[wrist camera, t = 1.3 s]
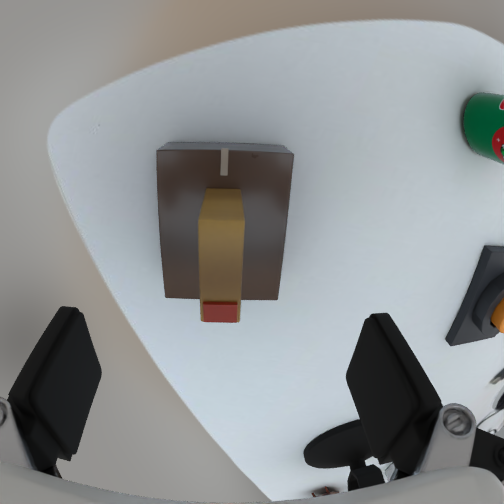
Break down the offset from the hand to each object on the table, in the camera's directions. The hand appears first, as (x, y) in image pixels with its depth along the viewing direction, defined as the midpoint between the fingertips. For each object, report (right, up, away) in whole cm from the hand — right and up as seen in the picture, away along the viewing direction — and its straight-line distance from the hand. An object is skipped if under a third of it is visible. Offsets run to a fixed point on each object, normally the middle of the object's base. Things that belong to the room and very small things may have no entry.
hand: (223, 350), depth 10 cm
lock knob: (-1, +4, +7) cm, 8 cm away
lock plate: (-1, +6, +10) cm, 12 cm away
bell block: (+26, -1, +16) cm, 30 cm away
